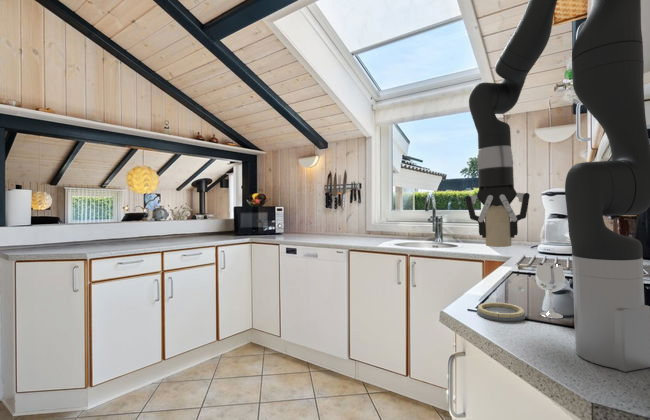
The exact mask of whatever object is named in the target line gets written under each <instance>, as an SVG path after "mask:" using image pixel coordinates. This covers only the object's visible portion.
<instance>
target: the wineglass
mask: <svg viewBox="0 0 650 420" xmlns="http://www.w3.org/2000/svg"><path fill="white" fill-rule="evenodd" d="M535 282H536V285H537V286H538V287H539V288H540V289H541V290H543V291H546V292H548V294H547V297H548V301H549V310H548V311H543V312H540V313H539V314H540V316H542V317H545V318H548V319H557V320H558V319H563V317H564V315H563V314H560V313H558V312H557V313H556V312H555V311H554V309H553V299H554V295H553V293H555V292H558V291H561V290H563V288H564V287H565V284H566V276H565V272H564V268H563V265H562V263H561V264H560V263H555V262H539V263H537V266H536V271H535Z"/></svg>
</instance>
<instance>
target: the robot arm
mask: <svg viewBox="0 0 650 420" xmlns="http://www.w3.org/2000/svg"><path fill="white" fill-rule="evenodd" d="M591 1H592V2H591V8H590V11H589V14H588V16H587V18H586V20H585V22H584V24H583V25H582V26H581V29H580V31H579V33H578V35H577V37H576V39H575V42H574V44H573V48H572V50H571V72H572V73H571V75H572V76H571V77H572V88H573V91H574V93H575V95H576V97H577V98H578V100H579V101H580V102H581V104H582V105H583V106H584V108H585V109H586V110H587V111H588V112H589V113H590V115H592V117H593V118H594V120H596V121H597V122H598V125H600V126H601V128H602V129H603V132H605V135H606V136H607V140H608V143H609V148H610V153H611V160H603V161H602V160H601V161H600V160H599V161H585V162H584V161H583V162H579V163H576V164H574V165H572V166H571V167H570V168H569V170H568V172H567V174H566V176H565V183H564V184H565V185H564V193H565V204H566V205H565V206H566V213H567V214H566V215H567V223H568V224H567V226H568V227H567V228H568V236H569V242H570V245H571V259H572V260H571V261H572V262H571V263H572V265H571V266H572V286H573V287H572V291H573V293H572V294H573V295H572V296H573V316H574V317H573V318H574V339H575V353H576V354H577V355H578V356H579V357H580V358H582V359H583V360H586V361H587V362H590V363H594V364H596V365H599V366H603V367H606V368H612V369H616V370H618V371H621V372H623V373H624V372H631V371H636V370H642V369H647V368H648V369H649V368H650V306H649V305H646V304H645V290H644V287H645V286H644V282H645V281H644V257H643V255H644V253H643V251H644V250H643V244H642V242H641V241H640V240H639V239H637V238H634V237H631V236H627V235H623V234H620V233H618V232H615V231H613V230H612V229H610V228H609V227H608V226H607V225H606V223H605V220H604V219H605V218H604V216H605V217H608V216H632V215H634V216H635V215H640V214H643V213H645V212H646V211H647V210H648V209H649V208H650V140H649V134H648V133H649V132H648V127H647V120H646V119H647V118H646V107H645V88H644V74H645V73H644V71H645V70H644V69H645V68H644V46H643V45H644V44H643V33H642V5H641V3H642V1H641V0H591ZM557 4H558V0H528V2H527V5H526V8H525V9H524V12H523V14H522V16H521V19H520V21H519V22H518V25H517V26H516V28H515V30H514V32H513V34H512V35H511V37H510V39H509V41H508V42H507V44H506V45H505V48H504V49H503V50H502V52H501V54H500V56H499V58H498V59H497V60H496V63H495V65H494V71H495V73H496V74H497V75H498V77H500V78H502V79H503V80H502V81H501V82H479V83H477V84H476V85H475V86H474V87H473V88H472V89H471V91H470V93H469V98H468V107H469V112H470V114H471V118H472V121H473V123H474V127H475V129H476V132H477V146H478V147H477V149H478V155H477V174H478V192H477V193H476V194H474V195H473V194H472V195H466V197H465V202H466V206H467V210H468V215H469V219H470V220H471V221H472V220H473V221H476V222H477V223H478V234H479V236H481V237H482V239H486V237H485V216H486V213H487V210H488V209H489V207H490V206H492V205H494V206H499V205H503V206H504V207H505V209H506V210H507V212H508V213H509V216H510V220H511V239H513V238H514V239H515V238H516V237H515V236H518V222H519V221H521V220H523V219H526V218H527V212H528V207H529V203H530V202H529V201H530V193H528V192H525V193H524V192H517V191H516V189H515V183H514V159H513V157H514V156H513V152H512V142H511V141H512V138H511V137H512V135H511V126H510V125H509V123H508V122H505V121H503V120H500V119H499V118H497V116H496V115H503V114H507V113H508V112H510V111H511V110H512V109H513V108H514V106H516V104H517V102H518V101H519V98H520V96H521V92H522V89H524V88H523V87H524V84H525V82H526V79H527V76H528V74H529V73H530V71H531V69H532V68H533V67H534V66H535V64H536V62H537V61H538V60H539V59H540V57H541V55H542V53H543V52H544V51H545V49H546V47H547V45H548V42H549V40H550V37H551V33H552V27H553V21H554V15H555V10H556V6H557ZM516 197H517V198H518V202H520V203H521V206H520V211H519V213H518V214H515V212H514V210H513V208H512V206H511V204H512V202H513V201H514V200H515V199H516ZM477 199H478V200H479V202H481V204H482V205H483V206H482V209H481V212H480V214H479V215H476V212H475V210H476V209H475V207H474V204H476V200H477Z"/></svg>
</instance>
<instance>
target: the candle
mask: <svg viewBox="0 0 650 420" xmlns="http://www.w3.org/2000/svg"><path fill="white" fill-rule="evenodd" d="M484 222H485V237H486V238H485V246H486V247H490V248H491V247H493V248H495V247H496V248H505V247H511V246H512V238H511V218H510V216H509V213H508V212H507V210H506V209H505V207H504V206H503V205H499V206H494V205H492V206H490V207H489V209H488V210H487V213H486V216H485V219H484Z"/></svg>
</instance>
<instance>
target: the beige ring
mask: <svg viewBox="0 0 650 420" xmlns="http://www.w3.org/2000/svg"><path fill="white" fill-rule="evenodd" d="M476 315H478V316H479V317H480V318H483V319H486V320H490V321H494V322H495V321H496V322H502V323H515V322H516V323H517V322H521V321H525V320H526V318H525V317H526V312H525V310H524V309H523V307H521V306H518V305H515V304H512V303H505V302H483V303H480V304H478V305H477V308H476Z"/></svg>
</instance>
